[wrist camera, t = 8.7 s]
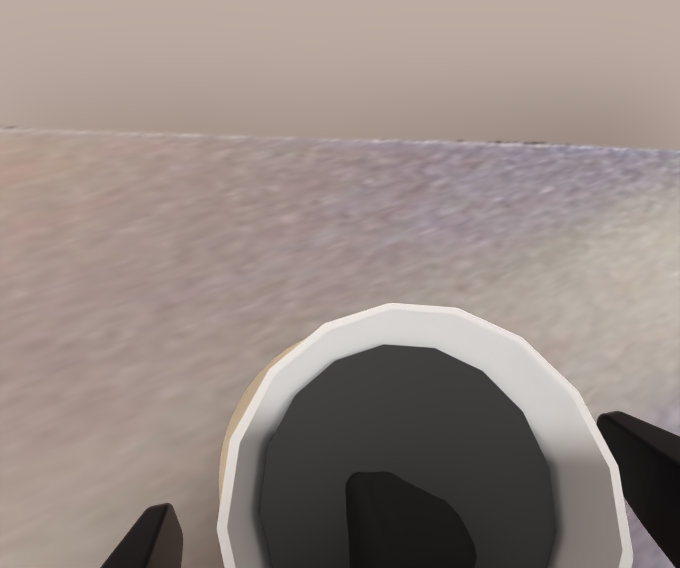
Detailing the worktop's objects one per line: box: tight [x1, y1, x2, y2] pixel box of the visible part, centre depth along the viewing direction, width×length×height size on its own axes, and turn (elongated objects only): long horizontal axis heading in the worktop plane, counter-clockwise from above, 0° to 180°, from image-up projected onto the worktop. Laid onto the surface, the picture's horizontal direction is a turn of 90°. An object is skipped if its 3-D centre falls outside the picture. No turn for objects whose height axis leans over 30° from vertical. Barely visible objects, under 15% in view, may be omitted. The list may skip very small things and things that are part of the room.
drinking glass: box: [217, 303, 633, 568], centre depth 11 cm, size 7×7×10 cm
